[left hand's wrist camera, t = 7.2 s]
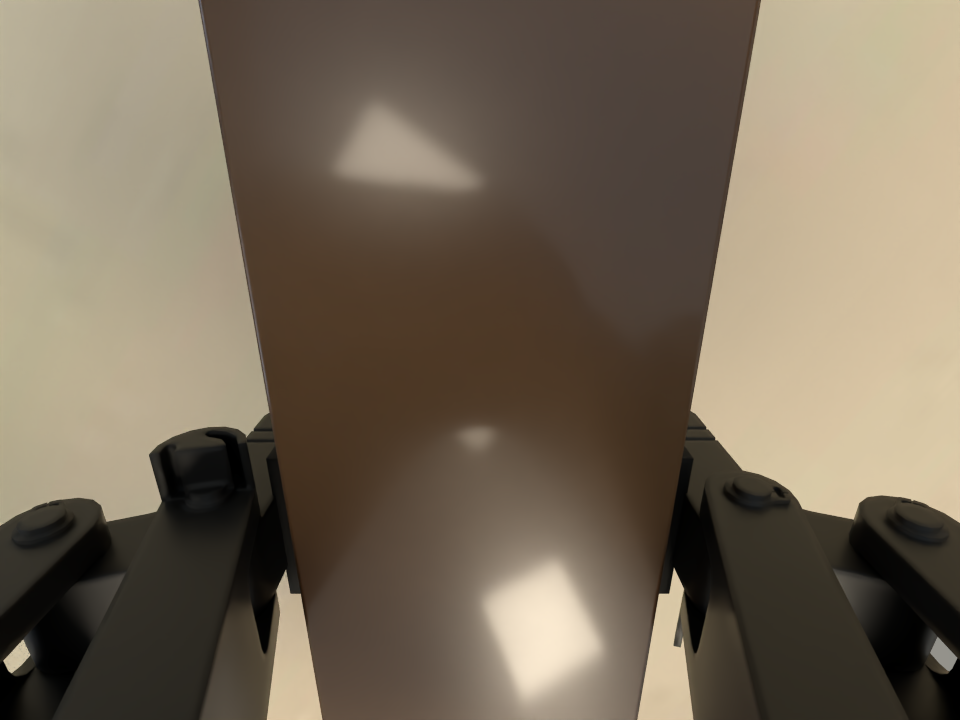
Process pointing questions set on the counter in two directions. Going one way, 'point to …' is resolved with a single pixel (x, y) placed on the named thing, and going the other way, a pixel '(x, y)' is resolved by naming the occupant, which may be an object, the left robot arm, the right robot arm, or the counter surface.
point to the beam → (479, 326)
